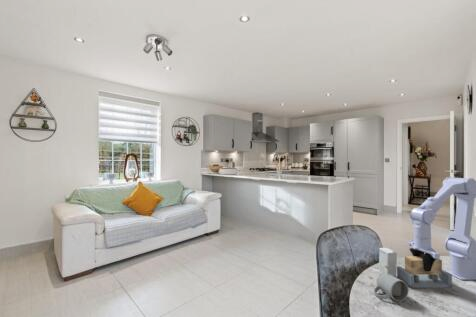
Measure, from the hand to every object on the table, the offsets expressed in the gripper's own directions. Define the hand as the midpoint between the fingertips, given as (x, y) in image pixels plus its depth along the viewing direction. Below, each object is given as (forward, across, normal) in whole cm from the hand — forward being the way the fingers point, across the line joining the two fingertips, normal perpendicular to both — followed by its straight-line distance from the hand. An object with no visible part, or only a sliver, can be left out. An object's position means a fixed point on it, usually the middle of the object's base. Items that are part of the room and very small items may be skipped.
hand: (423, 268), depth 98 cm
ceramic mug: (+6, +9, -21) cm, 24 cm away
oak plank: (+2, 0, 0) cm, 2 cm away
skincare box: (+6, -5, -12) cm, 14 cm away
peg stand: (+6, 0, 0) cm, 6 cm away
